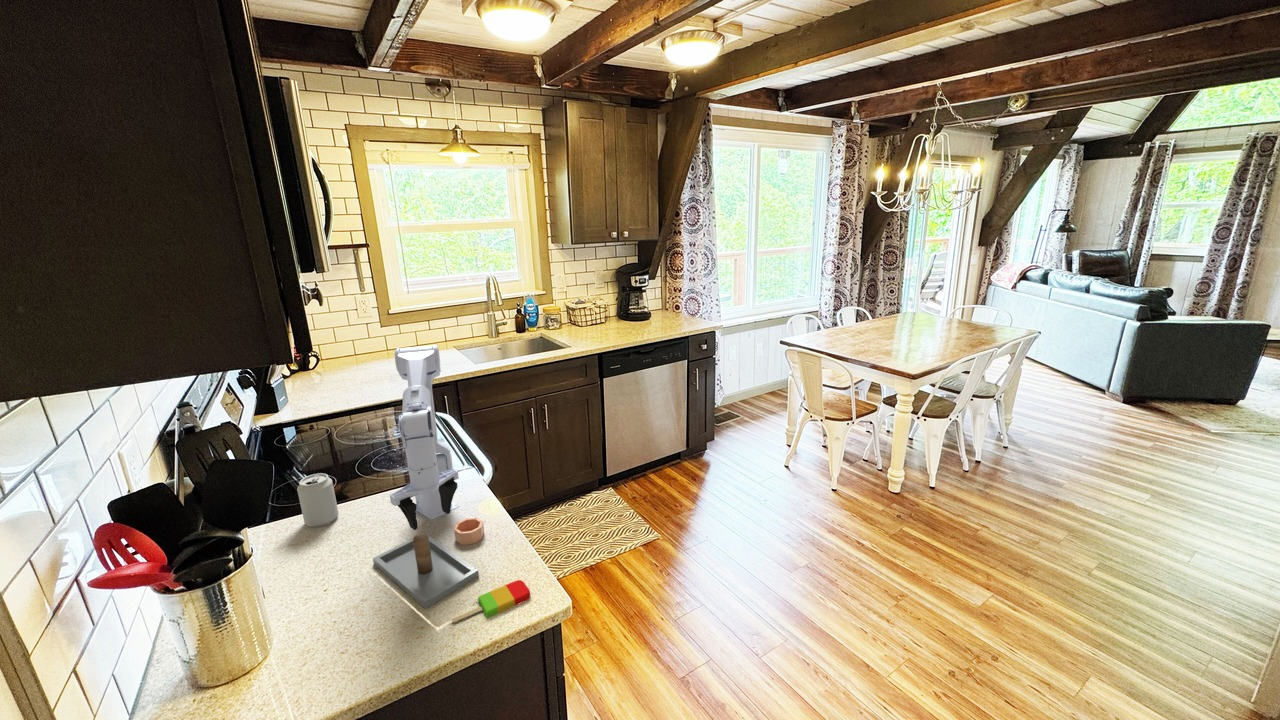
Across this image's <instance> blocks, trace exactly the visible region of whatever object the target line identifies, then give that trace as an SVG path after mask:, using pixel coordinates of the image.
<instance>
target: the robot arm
mask: <svg viewBox="0 0 1280 720" xmlns="http://www.w3.org/2000/svg"><path fill="white" fill-rule="evenodd" d="M439 349H440V348H439V346H438V345H437V344H431V345H419V346H410V347H409V346H408V347H397V348H396V349H395V351H394V361H395V367H396V368H395V369H396V371H397V372H398V375H399V376H400V377H401V379H402V380H404V381H407V385H408V386H407V388H406V389H405V390H403V392H402V408H401V409H402V410H401V411H402V412H401V415H398V416H399V417H398V431H399V434H400V438H401V440H402V446H403V449H405V456H406V463H407V469H408V475H409V481H410V483H408V484H406V485H405V486H403V487H402V488H400V489H399V490H397V491H396V492H393V493H391V494H389V499H390V504H392V506H394V507H398V508H399V509H400V510H401V512H402V513H403V515H404V517H405V518H406V520H407V523H408V525H409V527H410V528H411V529H412V530H414V531H416V530H417V529H419V528H418V527H419V524H418V519H417V513H420V514H421V515H423V516H425V517H426V518H428V519H429V520H435V519H437V518H439V517H441V516H442V515H445V514H447V515H448V514H450V513H451V511H453V510H455V509H457V508H459V507H460V505H459V504H457V503H455V502H453V498H454V496H455V493H456V491H457V490H458V487H459V486H458V482H456V480H459V479H460V478H459V471H458V470H456V469H454V467H453V458H452V454H451V448H450V446H449V445H447V444H445V443H443V442H441V441H439V439H438V431H437V430H438V429H437V421H436V412H435V403H434V395H433V381H434V379H436V378H438V377H439V376H440V375H441V372H442V371H441V359H440V351H439ZM412 498H415V502H413V499H412Z"/></svg>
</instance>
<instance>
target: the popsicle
mask: <svg viewBox="0 0 1280 720" xmlns="http://www.w3.org/2000/svg"><path fill="white" fill-rule="evenodd" d="M530 598H531V591H530V589H529V588H528V586H527V585H526V583H525V582H524V581H523V580H521V579H517V580H514V581H512V582H509V583H507V584H505V585H502V586H500V587H498V588H495V589H493V590H490V591H488V592H486V593H484V594H482V595H481V594H480V595H479V596H478V598H477V601H478V604H479V606H478V607H477V608H473V609H472V610H469V611H467V612H465V613H463V614H460V615H458V616H456V617H453V618H452V619H451V622H452V623H453V624H454V623H457V622H459V621H462V620H464V619H466V618H469V617H471V616H473V615H476V614H478V613H481V612H482V611H483V613H484V616H485V617H486V618H487V619H489V618H491V617H493V616H495V615H497V614H500V613H502V612H504V611H507V610H508V609H510V608H511V609H512V607H515V606H517V605H519V603H520V604H522V603H524V602H526V601H528V600H529V599H530ZM523 601H524V602H523ZM521 602H522V603H521Z"/></svg>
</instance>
